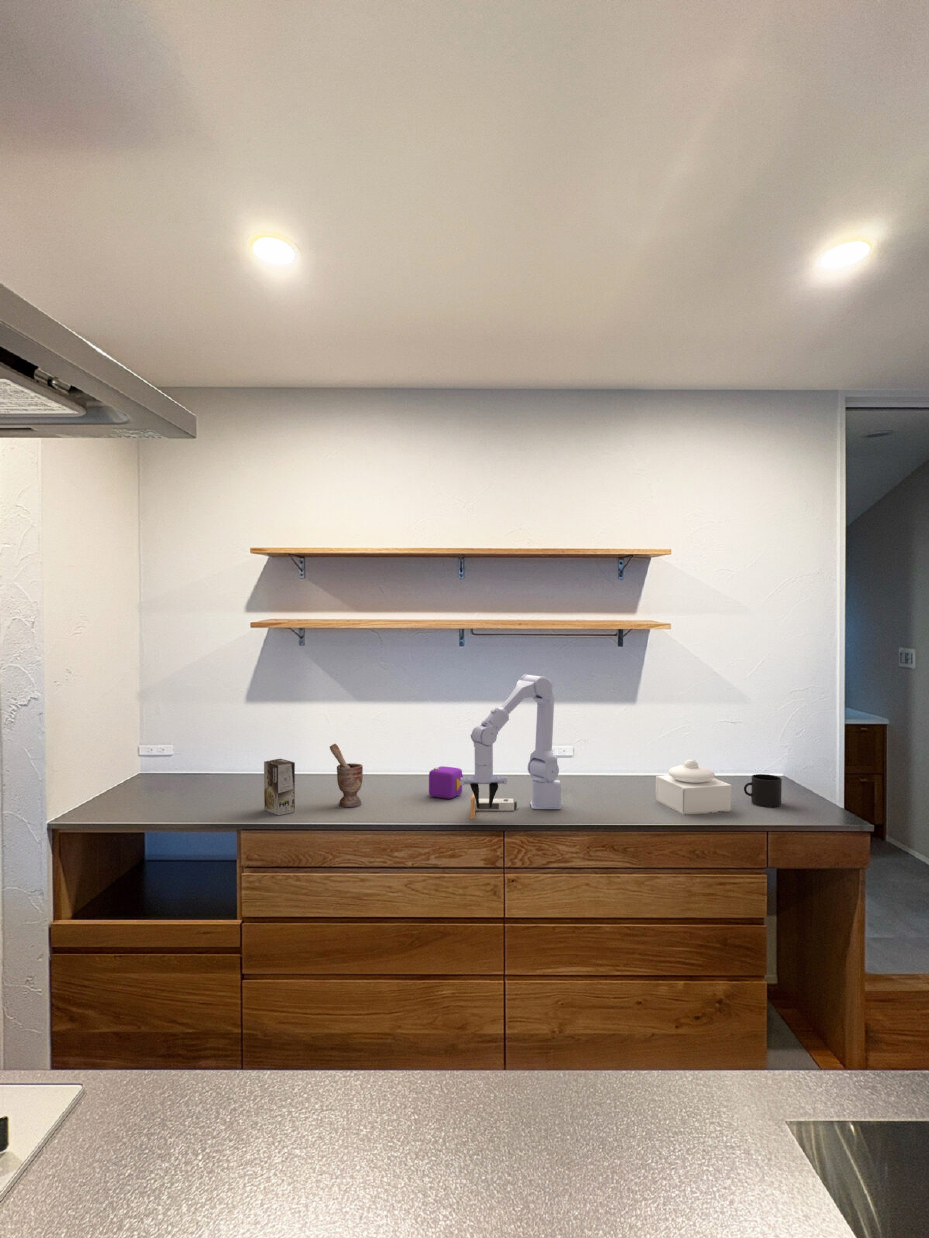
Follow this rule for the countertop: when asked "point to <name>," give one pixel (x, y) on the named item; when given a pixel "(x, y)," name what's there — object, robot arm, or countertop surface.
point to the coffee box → (279, 786)
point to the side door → (473, 806)
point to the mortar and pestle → (348, 779)
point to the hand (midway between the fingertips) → (483, 806)
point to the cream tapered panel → (497, 805)
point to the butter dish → (693, 790)
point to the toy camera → (445, 782)
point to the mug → (765, 790)
